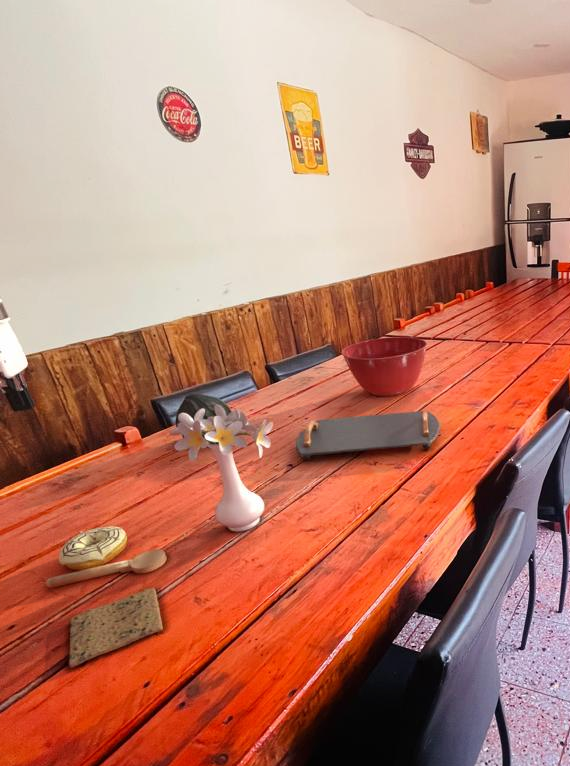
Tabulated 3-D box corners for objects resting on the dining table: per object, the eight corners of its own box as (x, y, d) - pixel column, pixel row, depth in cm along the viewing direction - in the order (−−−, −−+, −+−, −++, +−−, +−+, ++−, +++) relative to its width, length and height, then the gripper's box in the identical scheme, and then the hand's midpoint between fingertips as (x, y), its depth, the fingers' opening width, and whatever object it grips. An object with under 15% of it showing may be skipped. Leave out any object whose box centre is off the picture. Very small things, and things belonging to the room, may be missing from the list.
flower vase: (287, 534, 101) (258, 418, 91) (190, 546, 99) (147, 429, 88) (298, 500, 113) (273, 394, 102) (211, 510, 111) (176, 403, 100)
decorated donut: (51, 577, 93) (42, 560, 91) (84, 542, 102) (76, 526, 101) (112, 569, 94) (104, 552, 92) (138, 535, 104) (132, 520, 102)
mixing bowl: (333, 391, 179) (325, 348, 172) (400, 372, 195) (395, 332, 189) (377, 411, 159) (370, 363, 153) (447, 387, 176) (444, 343, 170)
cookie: (164, 629, 79) (162, 625, 79) (69, 669, 73) (66, 664, 73) (156, 588, 88) (154, 584, 88) (70, 620, 82) (68, 616, 82)
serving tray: (289, 466, 128) (284, 443, 126) (307, 429, 149) (303, 409, 146) (442, 452, 131) (440, 430, 129) (439, 418, 152) (437, 398, 149)
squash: (237, 405, 155) (190, 377, 145) (248, 421, 144) (197, 392, 134) (208, 442, 154) (158, 416, 144) (216, 462, 143) (163, 435, 133)
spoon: (42, 598, 88) (38, 590, 87) (53, 578, 93) (49, 570, 92) (164, 568, 94) (161, 560, 93) (168, 551, 98) (165, 543, 97)
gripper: (-26, 311, 98) (17, 400, 106) (-68, 326, 86) (-16, 426, 94) (21, 306, 100) (59, 394, 109) (-13, 320, 88) (33, 418, 96)
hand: (24, 408), depth 101 cm, fingers closed
